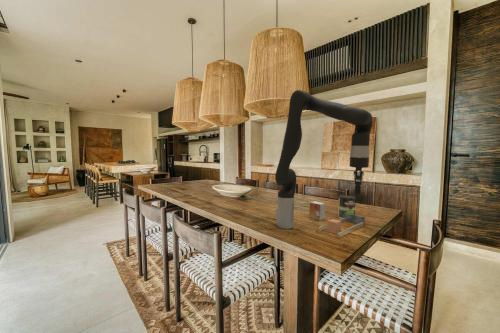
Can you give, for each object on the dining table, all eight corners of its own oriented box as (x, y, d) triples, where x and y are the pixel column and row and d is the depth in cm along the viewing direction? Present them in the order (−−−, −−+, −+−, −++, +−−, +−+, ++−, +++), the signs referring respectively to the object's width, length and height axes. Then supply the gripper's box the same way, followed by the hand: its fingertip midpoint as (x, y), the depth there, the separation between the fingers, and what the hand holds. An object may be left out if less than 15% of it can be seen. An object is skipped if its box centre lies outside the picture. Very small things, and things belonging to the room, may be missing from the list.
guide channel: (317, 231, 114) (318, 221, 114) (344, 220, 133) (344, 212, 133) (339, 237, 105) (339, 228, 105) (364, 225, 124) (364, 216, 124)
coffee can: (358, 220, 134) (359, 198, 133) (342, 220, 133) (343, 198, 133) (350, 215, 144) (350, 194, 143) (335, 215, 144) (335, 194, 143)
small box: (309, 218, 138) (309, 202, 137) (313, 216, 141) (314, 200, 141) (320, 221, 132) (320, 204, 131) (324, 219, 135) (325, 203, 135)
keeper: (327, 231, 114) (327, 220, 114) (332, 229, 117) (332, 218, 117) (335, 234, 110) (336, 223, 110) (340, 232, 113) (341, 221, 113)
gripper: (350, 155, 101) (348, 189, 102) (349, 156, 88) (347, 194, 89) (368, 156, 97) (366, 191, 98) (370, 157, 85) (367, 196, 86)
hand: (357, 192), depth 94 cm, fingers open, 8 cm apart
